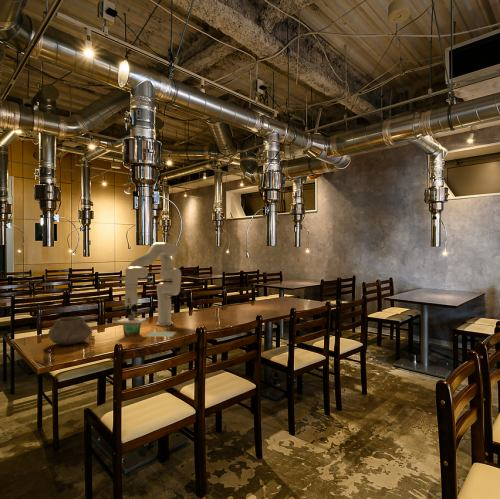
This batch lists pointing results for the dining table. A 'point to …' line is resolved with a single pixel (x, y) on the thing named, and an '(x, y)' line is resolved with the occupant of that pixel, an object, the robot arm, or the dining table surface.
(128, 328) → the food container
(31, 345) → the dining table surface
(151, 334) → the mat
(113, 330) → the dining table surface
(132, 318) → the lid
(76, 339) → the grey rounded lump
